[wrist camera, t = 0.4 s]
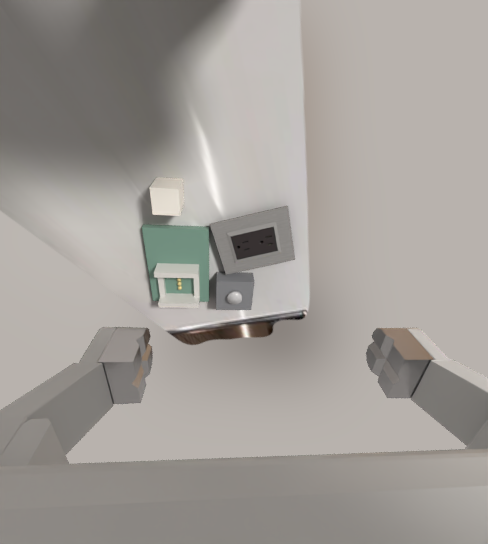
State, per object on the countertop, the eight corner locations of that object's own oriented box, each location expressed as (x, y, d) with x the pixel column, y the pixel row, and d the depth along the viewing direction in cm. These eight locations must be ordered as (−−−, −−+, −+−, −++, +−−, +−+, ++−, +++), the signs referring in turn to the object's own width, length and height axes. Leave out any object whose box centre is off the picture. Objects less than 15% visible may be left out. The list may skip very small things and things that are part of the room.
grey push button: (216, 272, 53) (216, 284, 50) (252, 272, 54) (254, 284, 51) (216, 299, 57) (215, 312, 54) (249, 300, 58) (251, 312, 55)
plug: (156, 177, 42) (149, 187, 38) (182, 178, 43) (178, 189, 38) (159, 205, 45) (153, 218, 41) (184, 206, 45) (180, 219, 41)
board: (143, 224, 46) (137, 236, 43) (208, 226, 47) (207, 238, 44) (154, 297, 56) (149, 311, 52) (209, 297, 57) (208, 311, 53)
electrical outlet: (225, 268, 53) (225, 275, 51) (210, 219, 47) (209, 225, 45) (292, 253, 52) (295, 260, 50) (285, 201, 46) (288, 207, 44)
